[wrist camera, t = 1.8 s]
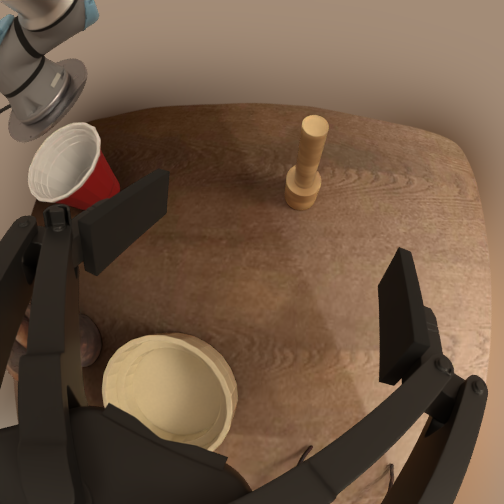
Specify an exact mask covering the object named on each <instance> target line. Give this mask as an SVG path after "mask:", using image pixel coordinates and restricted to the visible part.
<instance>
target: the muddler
mask: <svg viewBox="0 0 504 504" xmlns="http://www.w3.org/2000/svg"><path fill="white" fill-rule="evenodd" d="M328 130H329V125H328V123H327V121H326V120H325V119H324V118H322V117H320V116H317V115H311V116H308V117H306V118H305V119H304V120H303V122H302V128H301V135H300V142H299V149H298V156H297V163H296V166H294V167H293V168H291V169H290V170H289V172H288V173H287V176H286V186H285V200H286V202H287V204H288V205H289V206H290V207H291V208H293V209H295V210H300V211H302V210H307V209H309V208H310V207H311V206H312V205H313V204H314V202H315V200H316V197H317V194H318V191H319V189H320V186H321V177H320V174H319V173H318V171H317V168H318V165H319V161H320V158H321V154H322V151H323V147H324V144H325V140H326V137H327V133H328Z"/></svg>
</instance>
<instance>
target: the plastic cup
mask: <svg viewBox="0 0 504 504" xmlns="http://www.w3.org/2000/svg"><path fill="white" fill-rule="evenodd" d="M100 141H101V140H100V137H99V135H98V133H97V131H96V129H95V127H93V126H91V125H89V124H87V123H71V124H69V125H66V126H64V127H62V128H59V129H58V130H57V131H55V132H54V133H53V134H52V135H50V136H49V137H48V138H47V139H46V140H45V141H44V142H43V144H42V145H41V146H40V147H39V149H38V150H37V151H36V154H35V155H34V158H33V160H32V162H31V164H30V167H29V174H28V184H29V188H30V192H31V194H33V195H34V196H35V197H36V198H37V199H38V200H39V201H44V202H53V203H54V202H56V203H61V204H65V205H68V206H71V207H74V208H78V209H81V210H86V209H87V208H89V207H91V206H92V205H93V204H95V203H96V202H98V201H100V200H103V199H106V198H109V199H110V198H111V197H113V196H114V195H116V194H117V193H119V192H120V185H119V182H118V181H117V179H116V177H115V175H114V174H113V172H112V170H111V168H110V166H109V164H108V163H107V161H106V159H105V157H104V156H103V153H102V151H101V148H100Z"/></svg>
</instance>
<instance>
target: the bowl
mask: <svg viewBox="0 0 504 504" xmlns="http://www.w3.org/2000/svg"><path fill="white" fill-rule="evenodd" d="M102 396H103V403H104V407H105V408H106V406H107V405H108V403H111V404H113V405H114V406H116V407H118V408H120V409H121V410H123V411H125V412H127V413H129V414H131V415H132V416H134V417H136V418H137V419H138V420H139V421H140V422H142V423H143V424H144V425H145V426H146V427H148V428H149V429H150V430H151V431H152V432H154V433H155V434H156V435H157V436H159V437H160V438H162V439H165V440H170V441H175V442H180V443H185V444H191V445H197V446H199V447H202V448H204V449H207V450H209V451H212V452H213V451H214V450H215V449H216V448H217V447H218V446H219V445H220V444H221V443H222V442H223V440H224V438H225V436H226V435H227V433H228V431H229V429H230V426H231V424H232V421H233V419H234V416H235V413H236V408H237V403H238V392H237V383H236V381H235V378H234V375H233V373H232V370H231V368H230V367H229V365H228V364H227V362H226V361H225V359H224V358H223V356H221V354H220V353H219V352H217V351H216V350H215V349H214V348H213V347H212V346H211V345H210V344H208V343H206V342H204V341H202V340H200V339H199V338H197V337H194V336H191V335H187V334H183V333H178V332H176V333H159V334H152V335H146V336H143V337H140V338H136V339H133V340H131V341H129V342H128V343H126V344H125V345H123V346H122V347H120V348H119V349H118V350H117V351H116V352H115V354H114V355H113V356H112V357H111V359H110V360H109V362H108V364H107V367H106V369H105V372H104V375H103V383H102Z"/></svg>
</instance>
